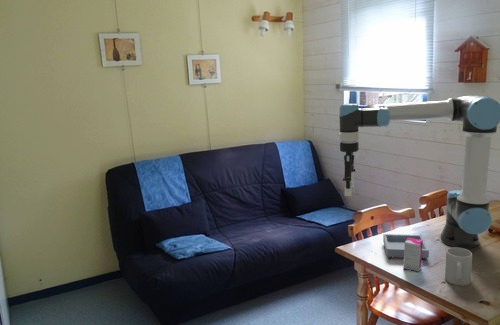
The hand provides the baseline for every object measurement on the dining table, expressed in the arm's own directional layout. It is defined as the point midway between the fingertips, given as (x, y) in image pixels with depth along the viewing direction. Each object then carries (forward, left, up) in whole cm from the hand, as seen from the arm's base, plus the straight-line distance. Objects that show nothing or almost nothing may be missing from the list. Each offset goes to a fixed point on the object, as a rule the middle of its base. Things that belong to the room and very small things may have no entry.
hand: (349, 191), depth 177 cm
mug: (-38, +24, -27) cm, 52 cm away
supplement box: (-24, +14, -27) cm, 39 cm away
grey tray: (-23, 0, -27) cm, 35 cm away
